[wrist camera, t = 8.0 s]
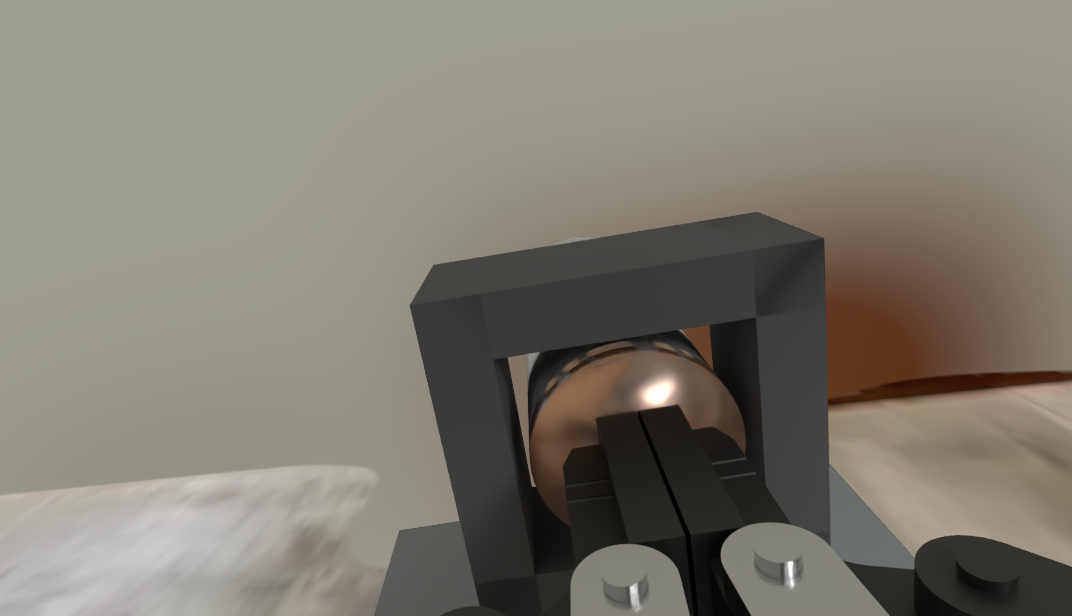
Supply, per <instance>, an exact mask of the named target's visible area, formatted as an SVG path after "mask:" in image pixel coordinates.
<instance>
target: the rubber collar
mask: <svg viewBox="0 0 1072 616" xmlns="http://www.w3.org/2000/svg"><path fill="white" fill-rule="evenodd" d="M824 254H825V253H824V238H823V237H820V236H817V235H815V234H812V233H810V232H807V231H804V230H802V229H800V228H797V227H794V226H792V225H789V224H787V223H784V222H781V221H779V220H776V219H774V218H771V217H769V216H766V215H764V214H761V213H758V212H754V213H748V214H742V215H736V216H730V217H724V218H718V219H711V220H705V221H700V222H693V223H687V224H681V225H675V226H669V227H663V228H656V229H650V230H644V231H638V232H632V233H626V234H620V235H614V236H608V237H601V238H595V239H589V240H583V241H577V242H571V243H565V244H559V245H553V246H547V247H540V248H534V249H528V250H522V251H516V252H510V253H504V254H497V255H492V256H485V257H479V258H473V259H467V260H461V261H455V262H449V263H442V264H437V265H433V267H432V268H431V270H430V272H429V274H428V275H427V277H426V279H425V281H424V283H423V284H422V286H421V287H420V289H419V291H418V292H417V294H416V296H415V297H414V299H413V301H412V303H411V304H410V308H411V313H412V317H413V321H414V325H415V330H416V334H417V339H418V343H419V347H420V352H421V356H422V360H423V364H424V369H425V373H426V377H427V382H428V386H429V390H430V395H431V399H432V403H433V407H434V411H435V416H436V420H437V425H438V428H439V433H440V437H441V442H442V446H443V451H444V455H445V459H446V463H447V468H448V472H449V476H450V481H451V485H452V489H453V494H454V498H455V502H456V507H457V510H458V515H459V519H460V524H461V528H462V532H463V537H464V541H465V545H466V550H467V554H468V558H469V562H470V567H471V571H472V575H473V580H474V584H475V588H476V593H477V597H478V601H479V606H483V607H489V608H492V609H495V610H498V611H500V612H502V613H503V614H505V615H506V616H536V615H538V614H540V613H542V612H544V611H546V610H547V609H549V608H550V607H552V606H553V605H554V604H556V603H557V602H558V601H559V600H560V599H561V598H562V597H563V596H564V594H565V593H566V592H567V590H568V589H569V587H570V586H571V579H572V576H573V573H574V571H575V562H574V554H573V546H572V538H571V530H570V527H569V526H568V525H567V524H565V523H564V522H562V521H561V520H560V519H559V518H558V517H557V516H556V515H555V514H554V513H553V512H552V511H551V510H550V509H549V507H548V506H547V505H546V504H545V502H544V501H543V499H542V497H541V496H540V494H539V492H538V490H537V487H532V485H531V480H530V474H529V469H528V464H527V459H526V453H525V448H524V442H523V437H522V432H521V427H520V421H519V416H518V411H517V405H516V400H515V394H514V390H513V384H512V379H511V373H510V368H509V362H508V357H511V356H518V355H524V354H530V353H537V352H543V351H549V350H555V349H562V348H568V347H574V346H581V345H587V344H593V343H599V342H606V341H612V340H618V339H624V338H631V337H637V336H643V335H649V334H656V333H662V332H668V331H674V330H681V329H687V328H693V327H699V326H706V325H710V335H711V347H712V360H713V372H714V373H715V374H716V375H717V377H718V378H719V379H720V381H721V382H722V383H723V385H724V386H725V387H726V388H727V390H728V391H729V393H730V394H731V396H732V397H733V399H734V400H735V402H736V404H737V406H738V408H739V410H740V413H741V416H742V419H743V423H744V428H745V435H746V450H745V456H746V459H747V460H749V462H750V463H751V465H752V466H753V468H754V469H755V471H756V475H759V477H760V478H761V480H762V481H763V483H764V484H765V486H766V487H767V489H768V490H769V492H770V493H771V494H772V496H773V497H774V499H775V500H776V502H777V503H778V505H779V506H780V508H781V509H782V511H783V512H784V514H785V515H786V517H787V518H788V520H789V521H790V523H791V524H792V525H793V526H797V527H800V528H803V529H805V530H808V531H810V532H812V533H813V534H815V535H817V536H819V537H820V538H821V539H823V540H824V541H825V542H826V543H827V544H828V545H829V546H830V547H831V536H830V488H829V441H828V394H827V347H826V307H825V306H826V300H825V257H824Z"/></svg>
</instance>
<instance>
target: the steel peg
mask: <svg viewBox="0 0 1072 616" xmlns="http://www.w3.org/2000/svg"><path fill="white" fill-rule="evenodd" d="M589 239H595V238H589V237H576V238H570V239H565V240H563V241H560V242H558V243H556V244H554V245H559V244H565V243H571V242H577V241H583V240H589ZM552 246H553V245H552ZM527 382H528V418H529V452H530V465H531V472H532V475H533V479H534V483H535V485H536V487H537V490H538V492H539V494H540V496H541V497H542V499H543V501H544V502H545V504H546V505H547V506H548V507H549V509H550V510H551V511H552V512H553V513H554V514H555V515H556V516H557V517H558V518H559V519H560V520H561V521H562V522H564V523H565V524H567V525H568V526H569V527H570V522H569V514H568V506H567V498H566V490H565V482H564V474H563V464H564V463H565V461H566V459H567V457H568V455H569V453H570V452H571V450H572V448H579V447H585V446H592V445H598V444H599V439H598V432H597V425H596V417H601V416H607V415H613V414H620V413H626V412H632V411H635V412H636V414H637V416H638V410H644V409H651V408H657V407H664V406H670V405H676V404H678V405H679V406H680V408H681V410H682V412H683V413H684V415H685V417H686V419H687V421H688V422H689V424H690V426H691V428H692V429H700V428H706V427H715V428H716V429H718V430H720V431H721V432H723V433H725V434H726V435H728V436H730V437H731V438H733V439H734V440H735V441H736V442H737V444H738V445H739V447H740V448H741V450H742V451H743V453H744V454H745V450H746V435H745V428H744V423H743V419H742V416H741V413H740V410H739V408H738V406H737V404H736V402H735V400H734V399H733V397H732V396H731V394H730V393H729V391H728V390H727V388H726V387H725V386H724V385H723V383H722V382H721V381H720V379H719V378H718V377H717V375H716V374H715V373H714V372H713V370H712V369H711V368H710V366H709V365H708V364H707V362H706V361H705V360H704V359H703V357H702V356H701V355H700V353H699V352H698V351H697V349H696V348H695V347H694V345H693V344H692V343H691V342H690V340H689V339H688V338H687V336H686V335H685V334H684V333H683V331H682V330H674V331H668V332H662V333H656V334H649V335H643V336H637V337H631V338H624V339H618V340H612V341H606V342H599V343H593V344H587V345H581V346H574V347H568V348H562V349H555V350H549V351H543V352H537V353H530V354H527Z"/></svg>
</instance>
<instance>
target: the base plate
mask: <svg viewBox="0 0 1072 616" xmlns="http://www.w3.org/2000/svg"><path fill="white" fill-rule="evenodd" d="M829 488H830V536H831V548H832V549H833V550H834V551H835V552H836V554H837V555H838V556H839V557H840V558H841V559H842V560H843V561H847V562H851V563H856V564H862V565H869V566H881V567H893V568H904V569H914V561H915V558H914V557H913V556H912V555H911V554H910V553H909V551H908V550H907V549H906V548H905V547H904V546H903V545H902V544H901V543H900V541H899V540H898V539H897V538H896V537H895V536H894V535H893V534H892V533H891V531H890V530H889V529H888V528H887V527H886V526H885V525H884V524H883V523H882V521H881V520H880V519H879V518H878V517H877V516H876V515H875V514H874V513H873V511H872V510H871V509H870V508H869V507H868V506H867V505H866V504H865V503H864V501H863V500H862V499H861V498H860V497H859V496H858V495H857V494H856V493H855V491H854V490H853V489H852V488H851V487H850V486H849V485H848V484H847V483H846V481H845V480H844V479H843V478H842V477H841V476H840V475H839V474H838V473H837V471H836V470H835V469H834V468H833V467H832V466H831V465H830V464H829ZM469 606H479V601H478V597H477V593H476V588H475V584H474V580H473V575H472V571H471V567H470V562H469V558H468V554H467V550H466V545H465V541H464V537H463V532H462V528H461V524H460V521H458V522H451V523H445V524H439V525H432V526H426V527H419V528H413V529H406V530H400V531H399V534H398V537H397V540H396V544H395V547H394V551H393V554H392V557H391V561H390V564H389V568H388V571H387V574H386V578H385V581H384V585H383V588H382V592H381V595H380V598H379V602H378V605H377V609H376V612H375V615H374V616H440V615H442V614H444V613H446V612H449V611H451V610H454V609H458V608H462V607H469Z"/></svg>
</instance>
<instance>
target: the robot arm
mask: <svg viewBox="0 0 1072 616" xmlns="http://www.w3.org/2000/svg"><path fill="white" fill-rule="evenodd" d="M596 425H597V432H598V439H599V444H598V445H592V446H585V447H579V448H572V450H571V452H570V453H569V455H568V457H567V459H566V461H565V463H564V464H563V474H564V482H565V490H566V498H567V506H568V514H569V522H570V530H571V538H572V546H573V554H574V562H575V571H574V573H573V576H572V579H571V586H570V587H569V589H568V590H567V592H566V593H565V594H564V596H563V597H562V598H561V599H560V600H559V601H558V602H557V603H556V604H554V605H553V606H552V607H550V608H549V609H547V610H546V611H544V612H542V613H540V614H538V615H536V616H1072V567H1071V566H1068V565H1065V564H1062V563H1059V562H1056V561H1054V560H1051V559H1048V558H1045V557H1042V556H1039V555H1037V554H1034V553H1031V552H1028V551H1025V550H1022V549H1019V548H1017V547H1014V546H1011V545H1008V544H1005V543H1002V542H999V541H995V540H991V539H987V538H982V537H975V536H963V535H955V536H945V537H940V538H936V539H933V540H931V541H929V542H927V543H925V544H924V545H923V546H922V547H921V548H920V549H919V550H918V551H917V553H916V555H915V561H914V569H904V568H893V567H881V566H869V565H862V564H856V563H851V562H847V561H843V560H842V559H841V558H840V557H839V556H838V555H837V554H836V552H835V551H834V550H833V549H832V548H831V547H830V546H829V545H828V544H827V543H826V542H825V541H824V540H823V539H821V538H820V537H819V536H817V535H815V534H813V533H812V532H810V531H808V530H805V529H803V528H800V527H797V526H793V525H792V524H791V523H790V521H789V520H788V518H787V517H786V515H785V514H784V512H783V511H782V509H781V508H780V506H779V505H778V503H777V502H776V500H775V499H774V497H773V496H772V494H771V493H770V492H769V490H768V489H767V487H766V486H765V484H764V483H763V481H762V480H761V478H760V477H759V475H756V471H755V469H754V468H753V466H752V465H751V463H750V462H749V460H747V459H746V456H745V454H744V453H743V451H742V450H741V448H740V447H739V445H738V444H737V442H736V441H735V440H734V439H733V438H731V437H730V436H728V435H726V434H725V433H723V432H721V431H720V430H718V429H716V428H715V427H706V428H700V429H692V428H691V426H690V424H689V422H688V421H687V419H686V417H685V415H684V413H683V412H682V410H681V408H680V406H679V405H678V404H676V405H670V406H664V407H657V408H651V409H644V410H638V416H637V414H636V412H635V411H632V412H626V413H620V414H613V415H607V416H601V417H596ZM440 616H506V615H505V614H503V613H502V612H500V611H498V610H495V609H492V608H489V607H483V606H469V607H462V608H458V609H454V610H451V611H449V612H446V613H444V614H442V615H440Z"/></svg>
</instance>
